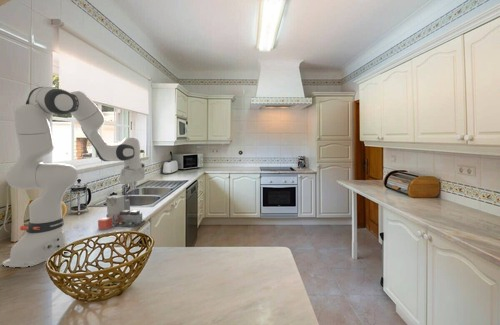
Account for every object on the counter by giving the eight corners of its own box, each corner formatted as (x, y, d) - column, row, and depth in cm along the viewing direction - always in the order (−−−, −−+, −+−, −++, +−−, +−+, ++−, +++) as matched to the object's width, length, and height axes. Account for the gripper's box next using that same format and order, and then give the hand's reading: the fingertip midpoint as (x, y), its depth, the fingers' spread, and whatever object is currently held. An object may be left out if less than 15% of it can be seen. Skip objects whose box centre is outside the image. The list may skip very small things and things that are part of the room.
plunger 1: (126, 222, 149) (126, 211, 149) (120, 221, 150) (119, 211, 149) (130, 220, 153) (130, 210, 153) (124, 219, 154) (123, 209, 153)
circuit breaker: (131, 215, 167) (130, 193, 166) (118, 222, 153) (117, 198, 152) (120, 215, 168) (120, 193, 167) (106, 222, 154) (105, 197, 153)
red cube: (106, 229, 142) (106, 219, 141) (98, 228, 142) (97, 219, 142) (112, 226, 147) (112, 217, 146) (104, 225, 147) (104, 217, 147)
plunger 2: (136, 222, 149) (135, 212, 148) (129, 222, 149) (129, 211, 149) (139, 220, 153) (139, 210, 152) (133, 220, 153) (133, 210, 153)
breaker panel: (134, 227, 145) (133, 216, 144) (114, 226, 146) (113, 216, 146) (145, 220, 157) (144, 211, 156) (126, 220, 158) (126, 210, 157)
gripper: (127, 167, 137) (128, 192, 138) (146, 164, 158) (146, 186, 159) (116, 167, 138) (117, 192, 139) (136, 164, 158) (137, 186, 159)
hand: (133, 189), depth 149 cm, fingers closed
